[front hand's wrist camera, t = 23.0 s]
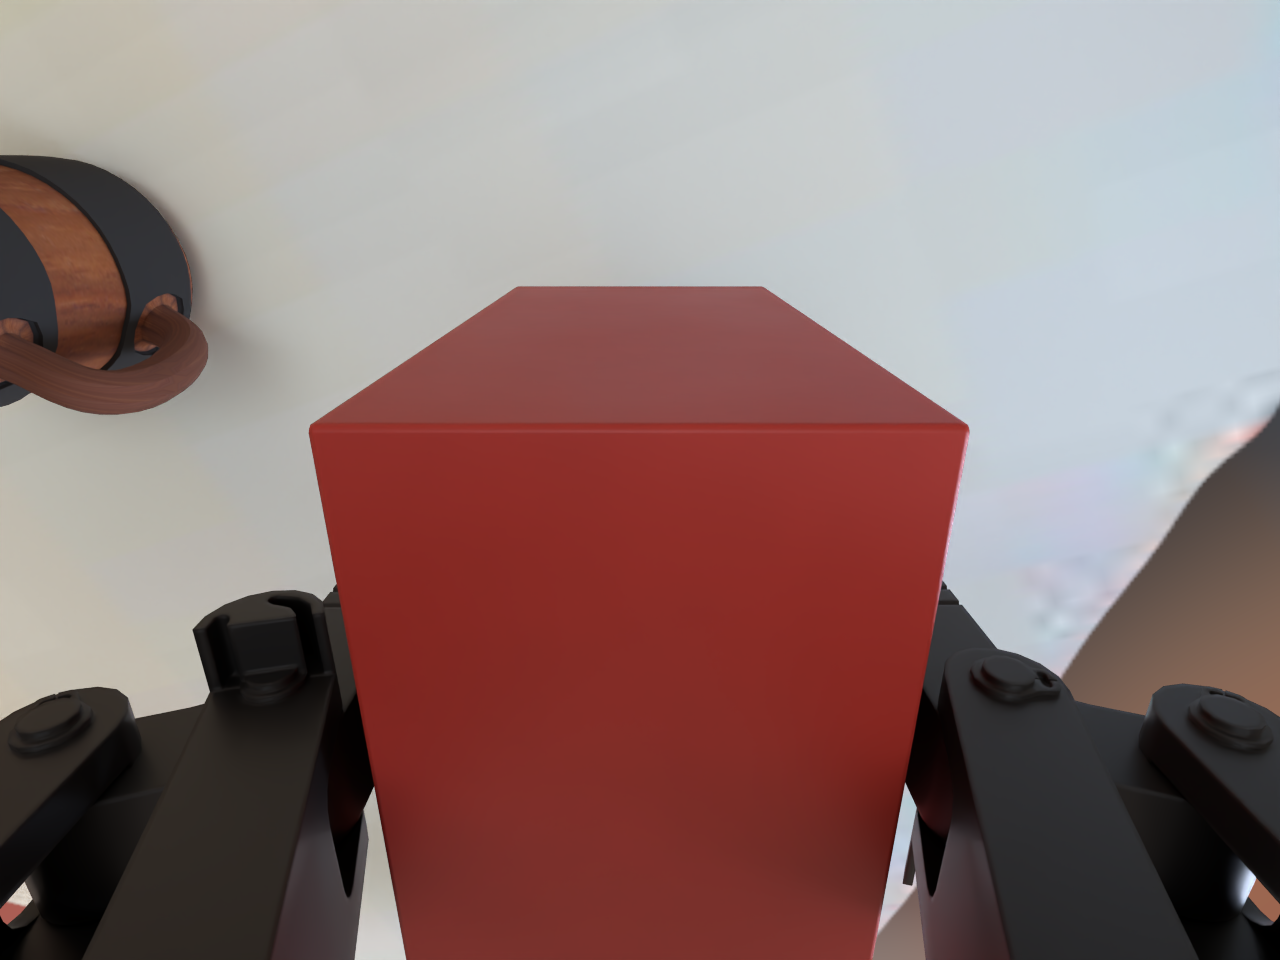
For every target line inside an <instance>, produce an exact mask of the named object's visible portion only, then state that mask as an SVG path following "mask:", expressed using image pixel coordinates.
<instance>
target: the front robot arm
mask: <svg viewBox="0 0 1280 960" xmlns="http://www.w3.org/2000/svg"><path fill="white" fill-rule="evenodd" d="M193 633H194V637H195V640H196V644H197V647H198V651H199V654H200V658H201V662H202V665H203V669H204V672H205V676H206V679H207V683H208V686H209V690H210V693H209V695H208V697H207V699H206V702H205V704H202V705H198V706H194V707H191V708H186V709H181V710H176V711H171V712H166V713H161V714H156V715H151V716H146V717H141V718H136V719H135V718H134V715H133V712H132V709H131V706H130V703H129V700H128V697H126V696H125V695H124V694H122V693H121V692H120V691H118V690H117V689H110V688H103V687H92V688H84V689H76V690H69V691H64V692H60V693H58V694H57V695H55V694H53V695H50V696H47V697H44V698H41V699H39V700H37V701H36V702H34V703H32V704H30V705H28V706H26V707H23V708H21V709H19V710H17V711H15V712H13V713H12V714H10V715H9V716H7V717H6V718H4V719H3V720H1V721H0V908H1V907H2V906H3V905H4V904H5V903H6V902H7V901H8V899H9V898H10V897H11V896H12V895H13V894H14V893H15V892H16V890H17V889H18V888H19V887H20V886H21V885H22V884H23V883H24V881H25V883H26V886H27V888H28V890H29V892H30V894H31V896H32V899H33V900H32V901H31V902H30V903H29V904H28V905H27V907H26V908H25V909H24V910H23V911H22V913H21V914H19V915H18V916H17V917H16V918H15V919H14V920H12V921H11V922H10V923H9V924H8V925H7V924H5V923H4V922H3V920H2V919H1V917H0V960H354V959H355V950H356V942H357V933H358V925H359V916H360V908H361V899H362V891H363V883H364V874H365V866H366V857H367V849H368V840H369V839H368V832H367V825H366V820H365V815H364V810H363V809H364V807H365V805H366V803H367V801H368V798H369V796H370V794H371V792H372V790H373V787H374V782H373V777H372V771H371V766H370V760H369V755H368V750H367V744H366V739H365V733H364V728H363V723H362V717H361V712H360V706H359V701H358V696H357V690H356V685H355V679H354V674H353V669H352V663H351V658H350V653H349V647H348V642H347V636H346V631H345V626H344V620H343V615H342V609H341V604H340V599H339V593H338V588H337V584H336V586H335V587H334V588H333V592H330V593H329V594H328V596H327V597H326V598H325V599H324V601H323V602H322V601H321V600H320V599H318V598H317V597H316V596H315V595H313V594H310V593H306V592H301V591H296V590H286V591H270V592H265V593H260V594H255V595H250V596H247V597H244V598H241V599H239V600H236V601H233V602H231V603H228V604H225V605H223V606H222V607H220V608H218V609H217V610H215V611H213V612H212V613H210V614H208V615H207V616H205V617H204V618H203V619H202V620H201V621H200V622H199V623H198V624H197V625H196V627H195V628H194V629H193ZM905 783H906V785H907V787H908V789H909V791H910V794H911V796H912V798H913V800H914V802H915V804H916V807H917V810H916V815H915V820H914V825H913V830H912V835H911V840H910V845H909V850H908V855H907V860H906V865H905V871H904V878H903V884H906V885H911V886H912V884H913V879H914V874H915V872H916V881H917V889H918V898H919V906H920V914H921V923H922V931H923V940H924V948H925V957H926V960H1280V915H1279V917H1278V919H1277V920H1276V921H1275V922H1273V921H1271V920H1270V919H1269V918H1268V917H1267V916H1266V915H1264V914H1263V913H1262V912H1261V911H1260V910H1259V909H1258V908H1257V906H1256V905H1255V904H1254V903H1253V902H1252V901H1251V899H1250V898H1249V897H1248V895H1249V893H1250V890H1251V888H1252V886H1253V884H1254V882H1255V880H1256V878H1257V879H1258V880H1259V881H1260V882H1261V883H1262V885H1263V886H1264V887H1265V888H1266V889H1267V890H1268V891H1269V892H1270V893H1271V895H1272V896H1273V897H1274V898H1275V899H1276V900H1277V901H1278V902H1279V904H1280V717H1279V716H1277V715H1276V714H1274V713H1273V712H1271V711H1270V710H1268V709H1267V708H1265V707H1262V706H1260V705H1258V704H1256V703H1254V702H1251V701H1249V700H1247V699H1245V698H1244V697H1242V696H1240V695H1238V694H1235V693H1232V692H1229V691H1222V689H1218V688H1213V687H1208V686H1199V685H1190V684H1176V685H1169V686H1163V687H1162V688H1160V689H1159V690H1158V691H1156V692H1155V693H1154V694H1153V695H1152V698H1151V701H1150V704H1149V707H1148V710H1147V713H1146V716H1145V715H1140V714H1135V713H1130V712H1124V711H1120V710H1114V709H1110V708H1105V707H1100V706H1095V705H1090V704H1086V703H1082V702H1078V701H1075V700H1074V698H1073V696H1072V694H1071V692H1070V690H1069V689H1068V688H1067V687H1066V685H1065V684H1064V683H1063V681H1062V680H1061V679H1060V678H1059V677H1058V676H1057V675H1056V674H1054V673H1053V672H1051V671H1050V670H1048V669H1047V668H1046V667H1044V666H1043V665H1041V664H1040V663H1037V662H1035V661H1033V660H1031V659H1028V658H1026V657H1024V656H1021V655H1019V654H1016V653H1012V652H1007V651H1003V650H999V649H997V648H996V647H995V645H994V644H993V643H992V642H991V641H990V639H989V638H988V637H987V636H986V634H985V633H984V632H983V631H982V629H981V628H980V627H979V626H978V624H977V623H976V622H975V621H974V619H973V618H972V617H971V616H970V614H969V613H968V612H967V611H966V609H965V608H964V607H963V606H962V605H959V601H958V599H957V598H956V597H955V596H954V594H953V593H952V592H951V591H950V590H947V586H946V584H945V583H944V582H943V581H942V585H941V591H940V596H939V601H938V607H937V612H936V618H935V623H934V628H933V634H932V639H931V645H930V650H929V655H928V661H927V666H926V672H925V677H924V683H923V688H922V693H921V699H920V704H919V710H918V715H917V720H916V726H915V731H914V737H913V742H912V748H911V753H910V758H909V764H908V769H907V775H906V780H905Z"/></svg>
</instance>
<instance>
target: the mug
mask: <svg viewBox="0 0 1280 960" xmlns="http://www.w3.org/2000/svg"><path fill="white" fill-rule="evenodd" d="M191 304H192V279H191V274H190V269H189V265H188V262H187V259H186V256H185V253H184V251H183V249H182V247H181V245H180V243H179V241H178V239H177V237H176V236H175V234H174V233H173V231H172V229H171V228H170V227H169V225H168V224H167V222H166V221H165V220H164V218H163V217H162V216H161V215H160V213H159V212H158V211H157V210H156V209H155V207H154V206H153V205H152V204H151V203H150V202H149V201H148V200H147V199H146V198H145V197H144V196H142V195H141V194H140V193H139V192H138V191H137V190H136V189H134V188H133V187H132V186H130V185H129V184H127V183H126V182H125V181H123V180H122V179H120V178H118V177H117V176H115V175H113V174H111V173H109V172H108V171H106V170H103V169H101V168H98V167H96V166H93V165H91V164H87V163H84V162H80V161H76V160H69V159H63V158H55V157H45V156H23V155H0V407H2V406H6V405H9V404H11V403H14V402H16V401H18V400H20V399H22V398H23V397H25V396H26V395H28V394H29V393H34V394H36V395H38V396H40V397H42V398H44V399H46V400H48V401H51V402H53V403H56V404H58V405H61V406H63V407H66V408H69V409H73V410H77V411H80V412H85V413H93V414H100V415H117V414H125V413H133V412H139V411H143V410H146V409H150V408H153V407H156V406H158V405H160V404H162V403H165V402H167V401H168V400H170V399H171V398H173V397H175V396H176V395H178V394H179V393H181V392H183V391H184V390H185V389H186V388H188V387H189V386H190V385H191V384H192V383H193V382H194V381H195V380H196V379H197V378H198V376H199V375H200V373H201V372H202V370H203V368H204V367H205V365H206V362H207V359H208V344H207V342H206V339H205V337H204V335H203V333H202V331H201V330H200V329H199V328H198V327H197V326H196V325H195V324H194V323H193V322H192V321H191V320H189V318H190V311H191Z"/></svg>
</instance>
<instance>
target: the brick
mask: <svg viewBox="0 0 1280 960" xmlns="http://www.w3.org/2000/svg"><path fill="white" fill-rule="evenodd" d="M969 433H970V432H969V427H968V425H967V424H966V423H964V422H963V421H961V420H960V419H958V418H957V417H955V416H954V415H952V414H951V413H949V412H948V411H946V410H945V409H943V408H942V407H940V406H939V405H937V404H936V403H934V402H933V401H931V400H930V399H928V398H927V397H926V396H924V395H923V394H921V393H920V392H918V391H917V390H915V389H914V388H912V387H911V386H909V385H908V384H906V383H905V382H903V381H902V380H900V379H899V378H897V377H896V376H894V375H893V374H891V373H890V372H888V371H887V370H886V369H884V368H883V367H881V366H880V365H878V364H877V363H875V362H874V361H872V360H871V359H869V358H868V357H866V356H865V355H863V354H862V353H860V352H859V351H857V350H856V349H854V348H853V347H851V346H850V345H848V344H847V343H846V342H844V341H843V340H841V339H840V338H838V337H837V336H835V335H834V334H832V333H831V332H829V331H828V330H826V329H825V328H823V327H822V326H820V325H819V324H817V323H816V322H814V321H813V320H811V319H810V318H808V317H807V316H806V315H804V314H803V313H801V312H800V311H798V310H797V309H795V308H794V307H792V306H791V305H789V304H788V303H786V302H785V301H783V300H782V299H780V298H779V297H777V296H776V295H774V294H773V293H771V292H770V291H768V290H767V289H765V288H764V287H516V288H515V289H513V290H512V291H510V292H509V293H507V294H506V295H504V296H503V297H501V298H500V299H498V300H497V301H495V302H494V303H492V304H491V305H489V306H488V307H486V308H485V309H483V310H482V311H480V312H479V313H477V314H476V315H474V316H473V317H471V318H470V319H468V320H467V321H465V322H464V323H462V324H461V325H459V326H458V327H456V328H455V329H453V330H452V331H450V332H449V333H447V334H446V335H444V336H443V337H441V338H440V339H438V340H437V341H435V342H434V343H432V344H431V345H429V346H428V347H426V348H425V349H423V350H422V351H420V352H419V353H417V354H416V355H414V356H413V357H411V358H410V359H408V360H407V361H405V362H404V363H402V364H401V365H399V366H398V367H396V368H395V369H393V370H392V371H390V372H389V373H387V374H386V375H384V376H383V377H381V378H380V379H378V380H377V381H375V382H374V383H372V384H371V385H369V386H368V387H366V388H365V389H363V390H362V391H360V392H359V393H357V394H356V395H354V396H353V397H351V398H350V399H348V400H347V401H345V402H344V403H342V404H341V405H339V406H338V407H336V408H335V409H333V410H332V411H330V412H329V413H327V414H326V415H325V416H323V417H322V418H320V419H319V420H317V421H316V422H314V423H313V424H311V425H310V428H309V437H310V442H311V448H312V453H313V458H314V464H315V469H316V474H317V480H318V485H319V491H320V496H321V501H322V507H323V512H324V518H325V523H326V528H327V534H328V539H329V545H330V550H331V555H332V561H333V566H334V572H335V577H336V582H337V588H338V593H339V599H340V604H341V609H342V615H343V620H344V626H345V631H346V636H347V642H348V647H349V653H350V658H351V663H352V669H353V674H354V679H355V685H356V690H357V696H358V701H359V706H360V712H361V717H362V723H363V728H364V733H365V739H366V744H367V750H368V755H369V760H370V766H371V771H372V777H373V782H374V787H375V793H376V798H377V804H378V809H379V814H380V820H381V825H382V831H383V836H384V841H385V847H386V852H387V858H388V863H389V868H390V874H391V879H392V885H393V890H394V895H395V901H396V906H397V911H398V917H399V922H400V928H401V933H402V938H403V944H404V949H405V955H406V960H872V959H873V953H874V948H875V942H876V937H877V932H878V926H879V921H880V915H881V910H882V905H883V899H884V894H885V888H886V883H887V878H888V872H889V867H890V861H891V856H892V850H893V845H894V840H895V834H896V829H897V823H898V818H899V813H900V807H901V802H902V796H903V791H904V785H905V780H906V775H907V769H908V764H909V758H910V753H911V748H912V742H913V737H914V731H915V726H916V720H917V715H918V710H919V704H920V699H921V693H922V688H923V683H924V677H925V672H926V666H927V661H928V655H929V650H930V645H931V639H932V634H933V628H934V623H935V618H936V612H937V607H938V601H939V596H940V591H941V585H942V580H943V574H944V569H945V563H946V558H947V553H948V547H949V542H950V536H951V531H952V526H953V520H954V515H955V509H956V504H957V498H958V493H959V488H960V482H961V477H962V471H963V466H964V461H965V455H966V450H967V444H968V439H969Z"/></svg>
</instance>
